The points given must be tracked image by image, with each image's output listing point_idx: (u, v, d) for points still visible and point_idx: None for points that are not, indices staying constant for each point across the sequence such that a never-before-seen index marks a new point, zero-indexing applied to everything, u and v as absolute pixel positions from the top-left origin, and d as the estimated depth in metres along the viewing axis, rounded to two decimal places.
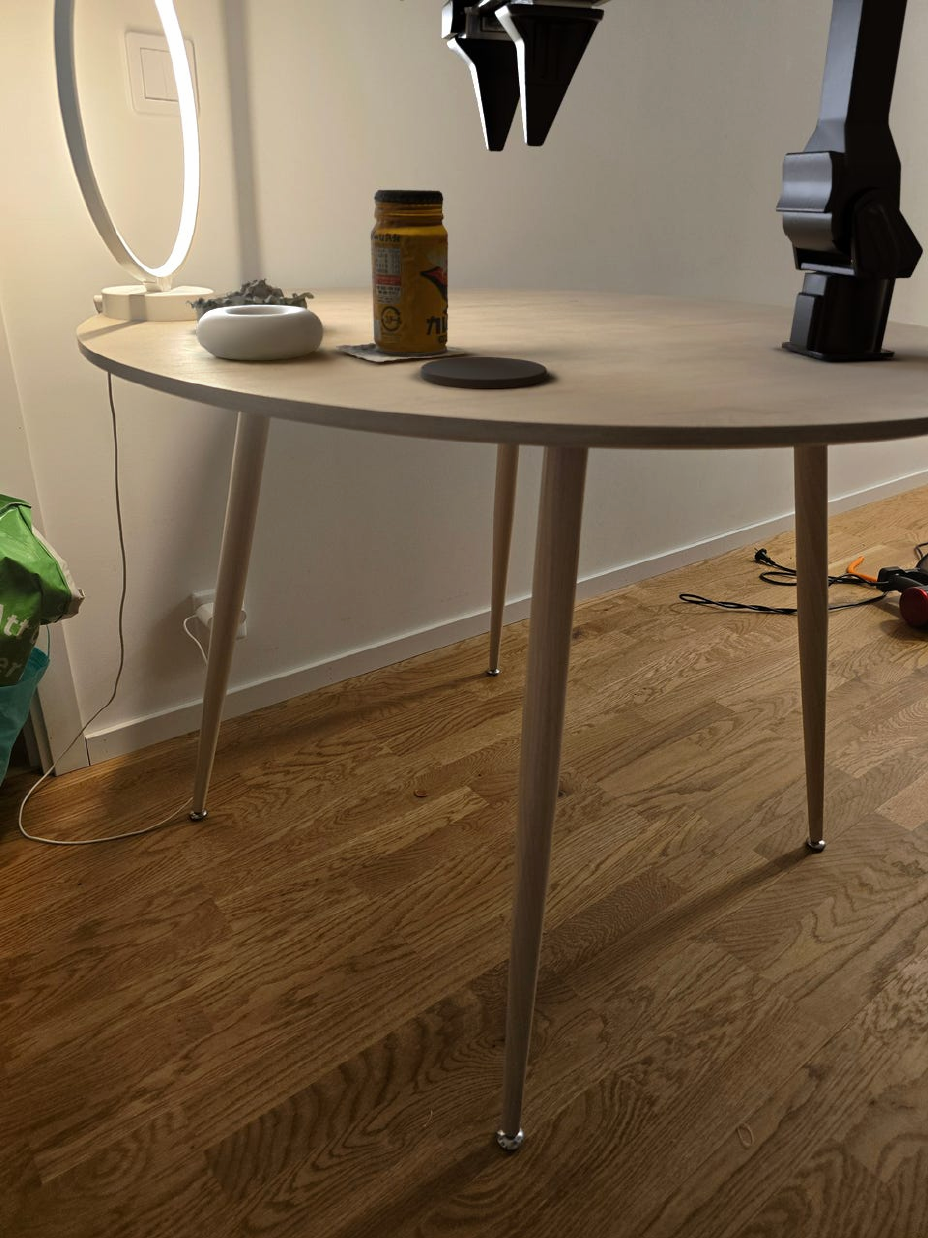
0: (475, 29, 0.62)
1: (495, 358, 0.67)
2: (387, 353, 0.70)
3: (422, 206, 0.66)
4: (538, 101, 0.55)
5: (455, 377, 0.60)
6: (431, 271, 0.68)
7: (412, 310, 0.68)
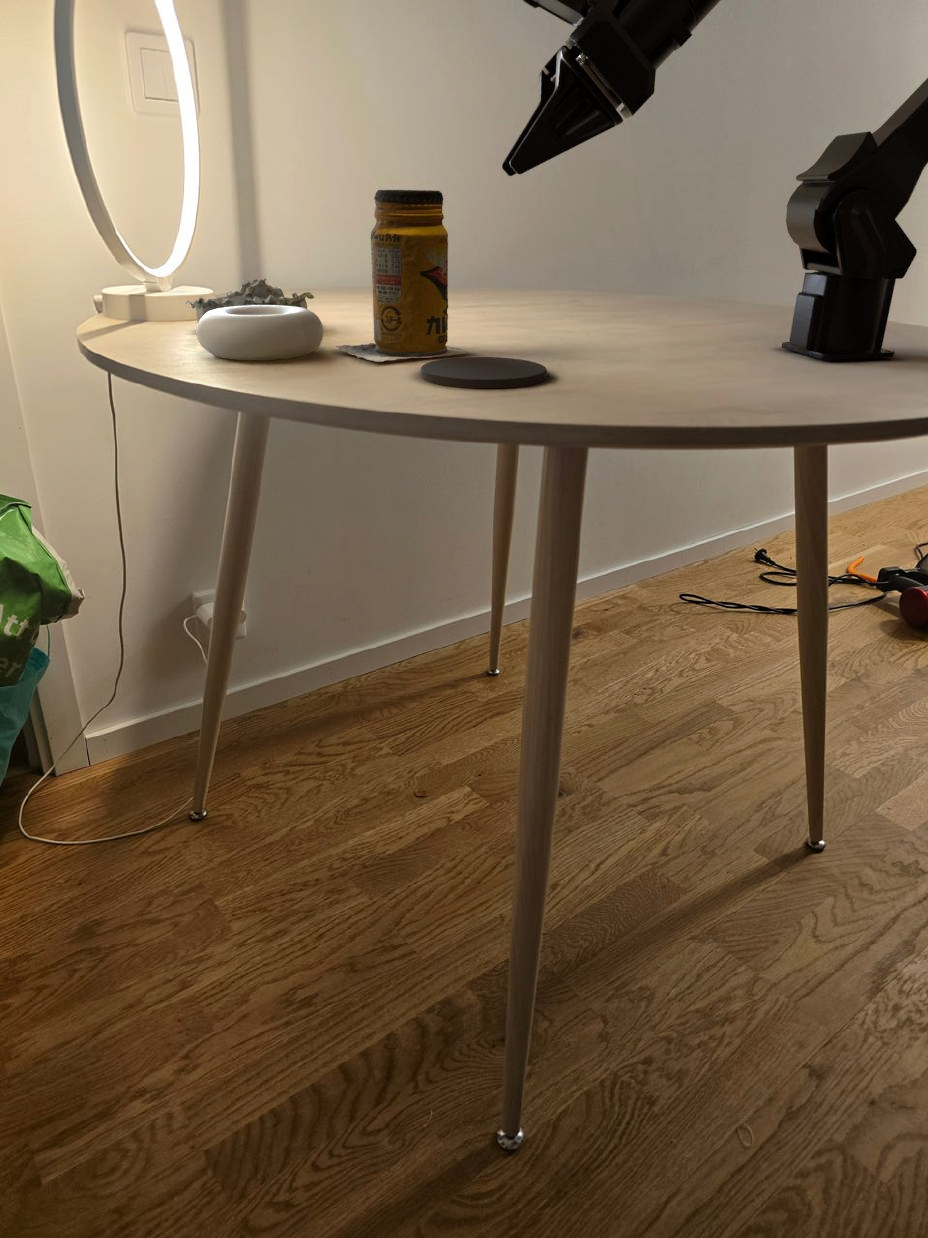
0: None
1: (495, 358, 0.67)
2: (387, 353, 0.70)
3: (422, 206, 0.66)
4: (538, 140, 0.61)
5: (455, 377, 0.60)
6: (431, 271, 0.68)
7: (412, 310, 0.68)
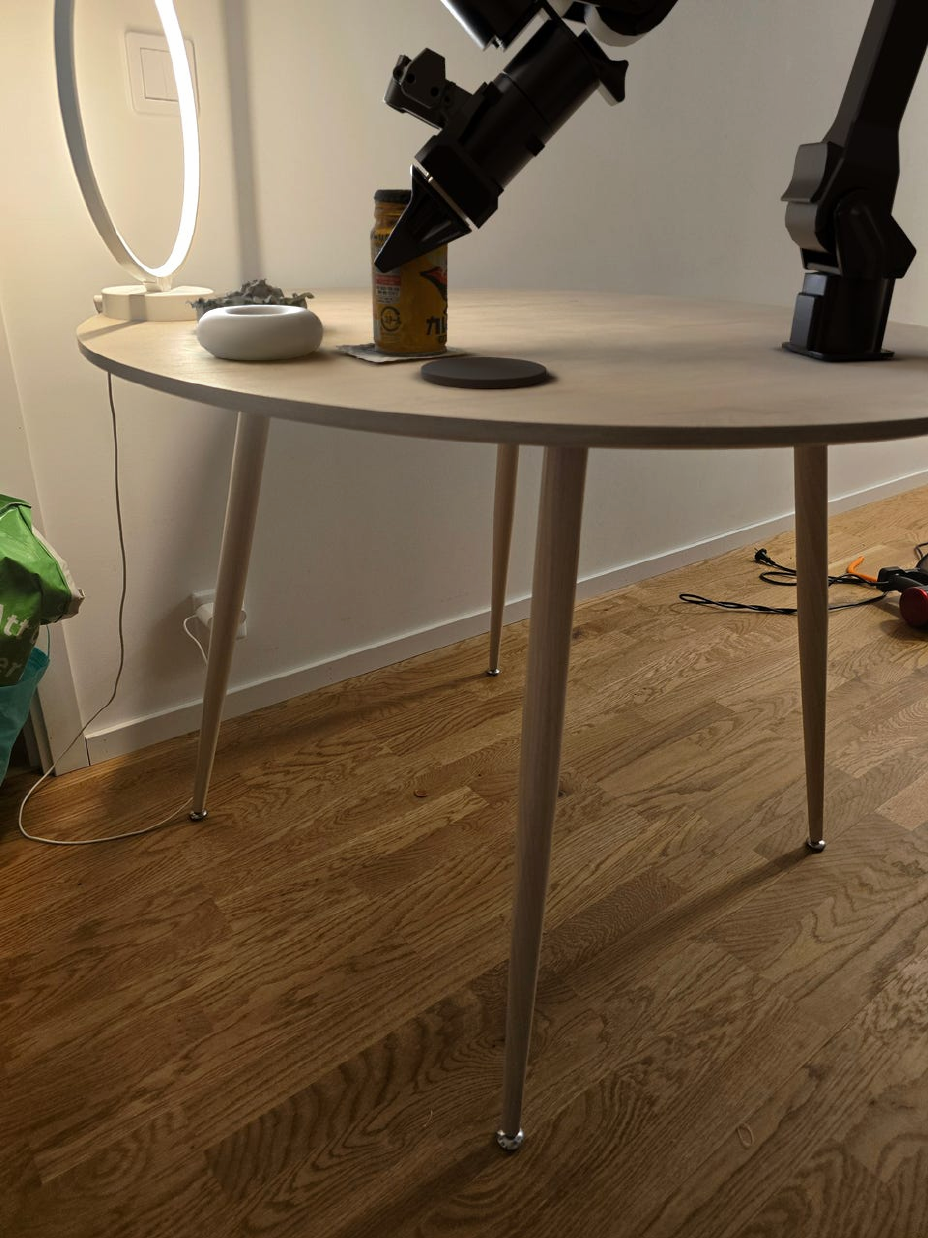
0: None
1: (495, 358, 0.67)
2: (387, 353, 0.70)
3: None
4: (398, 244, 0.65)
5: (455, 377, 0.60)
6: (431, 271, 0.67)
7: (411, 310, 0.68)
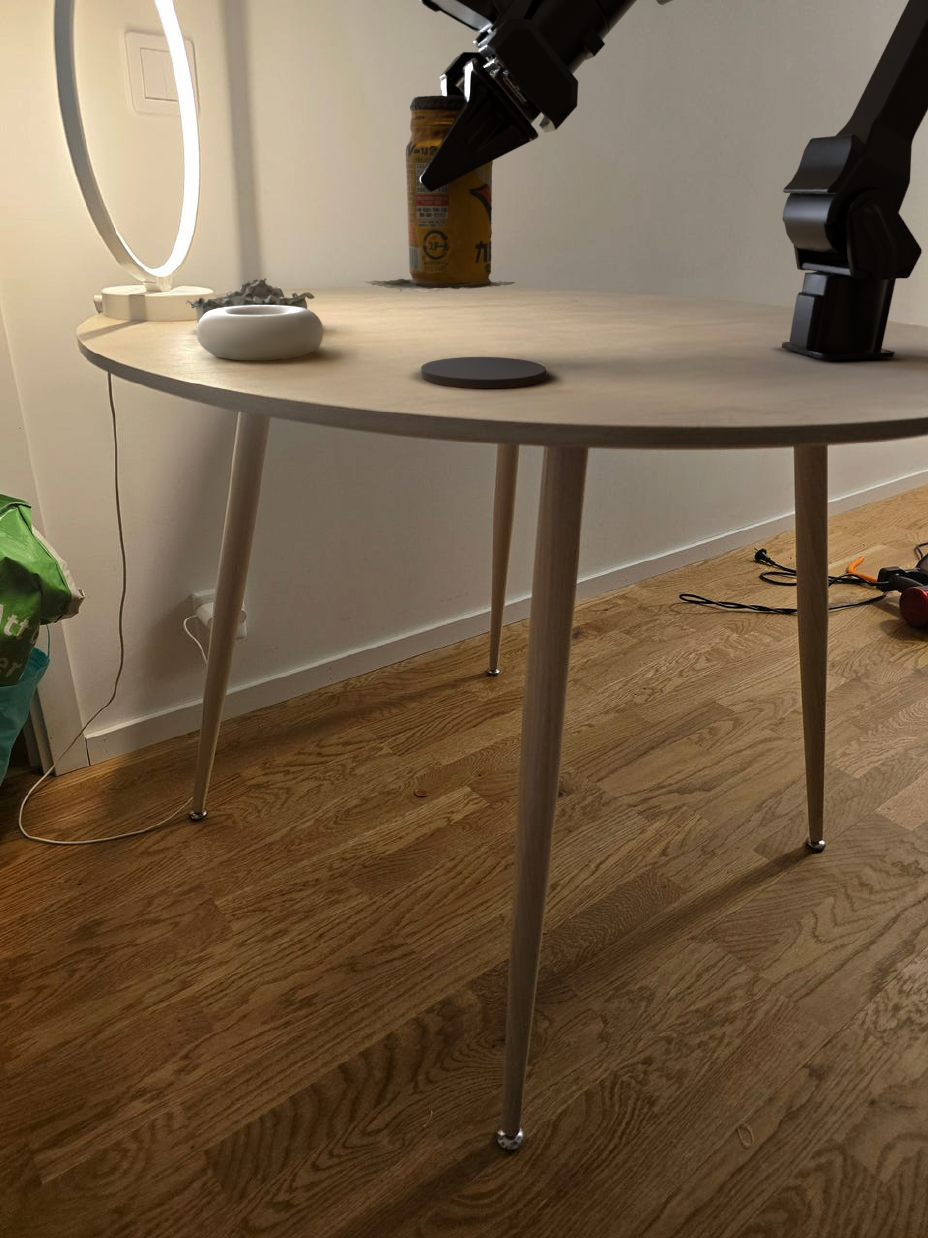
0: None
1: (495, 358, 0.67)
2: (431, 285, 0.63)
3: None
4: (450, 156, 0.58)
5: (455, 377, 0.60)
6: (480, 189, 0.61)
7: (460, 234, 0.61)
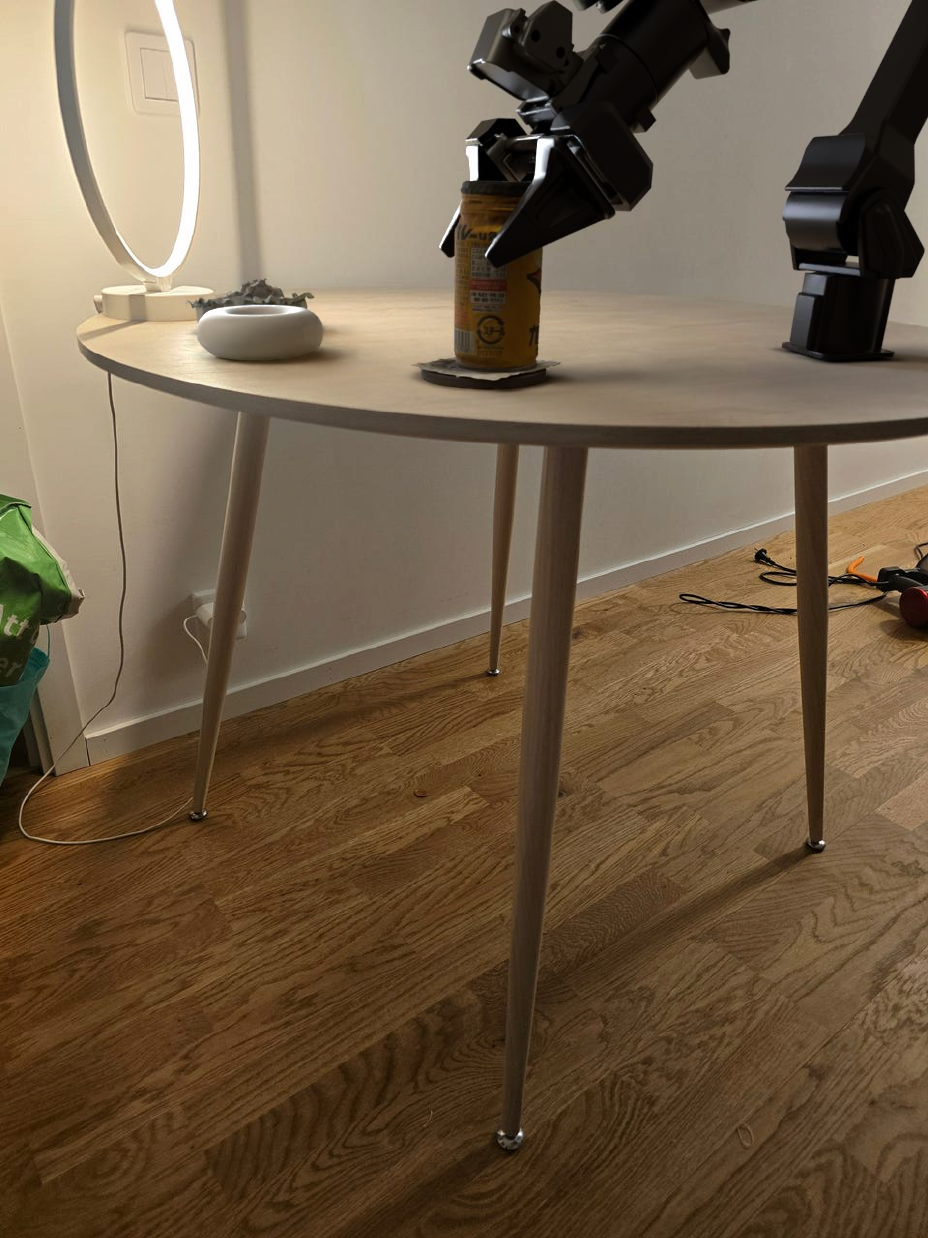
0: (497, 155, 0.63)
1: None
2: (484, 369, 0.61)
3: None
4: (519, 232, 0.55)
5: (455, 377, 0.60)
6: (535, 273, 0.59)
7: (517, 319, 0.60)
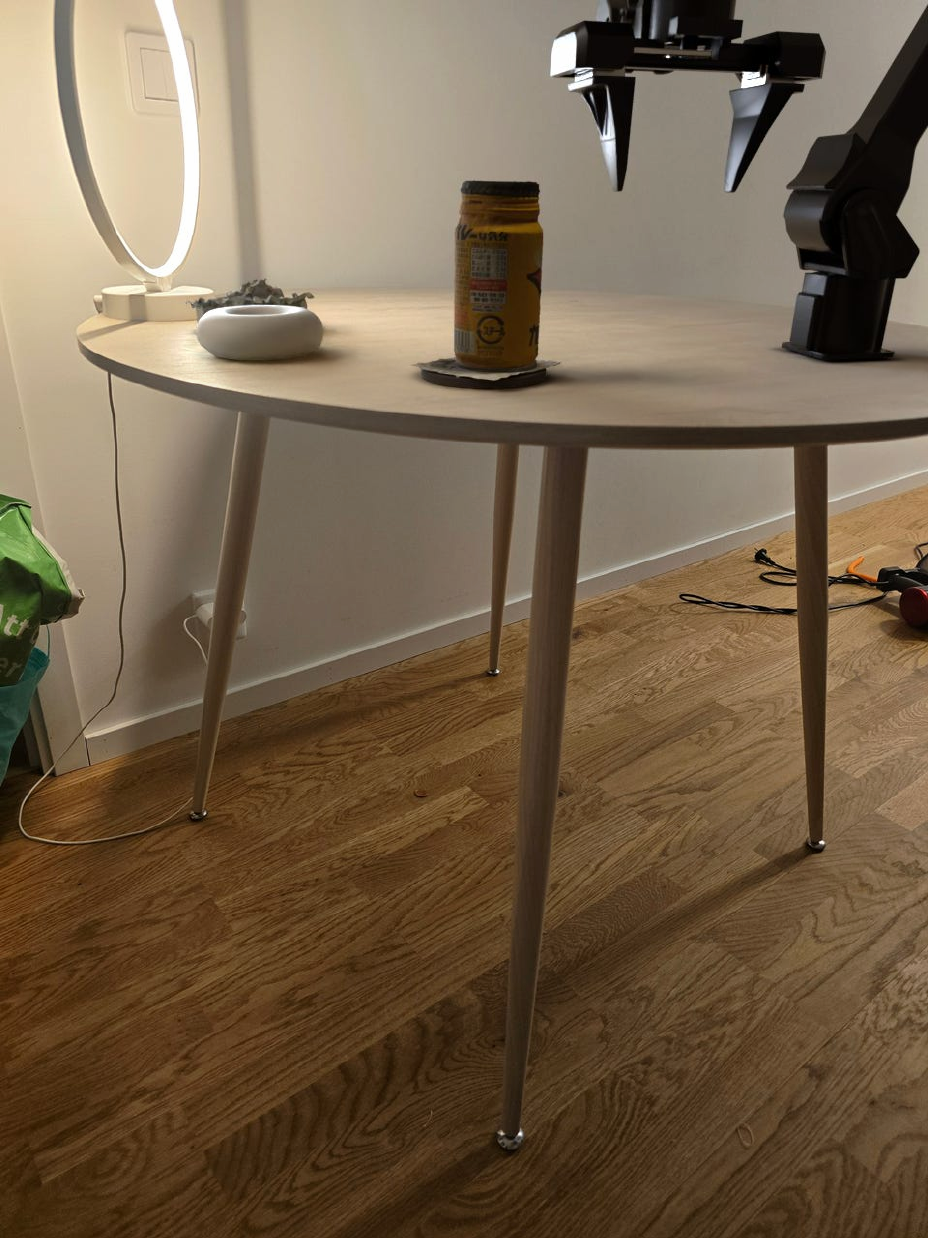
0: (745, 79, 0.65)
1: None
2: (484, 369, 0.61)
3: (529, 199, 0.57)
4: (610, 154, 0.64)
5: (455, 377, 0.60)
6: (535, 273, 0.59)
7: (517, 319, 0.60)
